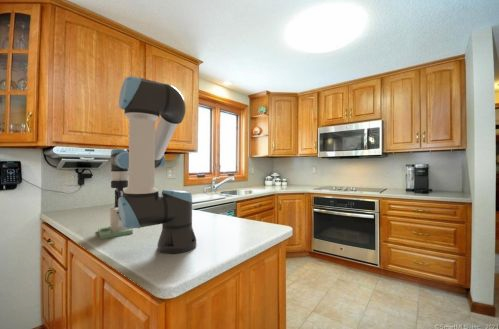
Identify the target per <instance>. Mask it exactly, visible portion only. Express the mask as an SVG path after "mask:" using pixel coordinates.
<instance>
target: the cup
mask: <svg viewBox="0 0 499 329" xmlns="http://www.w3.org/2000/svg"><path fill="white" fill-rule="evenodd" d="M117 212H119V211H118V207H111V208H110V220H109V222H110V225H109V226H110V232H118V231H124V230H130V229H127V228H125V227H124V226H122V227H118V214H117Z"/></svg>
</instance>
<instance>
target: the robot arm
mask: <svg viewBox="0 0 499 329" xmlns="http://www.w3.org/2000/svg"><path fill="white" fill-rule="evenodd" d="M118 107H119V108H120V109H122V110H124V113H123V114H124V116H125V117H126V118H127V119H128V121H129V124H128V125H129V126H128V150H127V149H123V148H115V149H111V150H110V179H111V180H110V188H111V189H115V190H114V207H113V208H115V207H118V211H119V212H117V214H118V227H122V226H124V227H125V228H127V229H129V230H130V229H132V230H134V229H141V228H145V227H152V226H157V225H158V226H159V225H161V227H162V228H161V231H160V232H161V233H160V235H159V239H158V242H157V250H158V252H160V253H163V254H179V253H180V254H181V253H185V252H188V251H191V250H193V249H195V248H196V247H197V238H196V235H195V231H194V228H193V195H192V193H191V192H190V191H187V190H186V191H185V190H178V189H162V191H161V193H159V189H158V188H157V187H156V186H155V169H161V168H163V167H164V166H165V164H166V156H165V152H166V150H167V149H168V146H169V144H170V142H171V139H172V138H173V136H174V133H175V131H176V129H177V127H178V125H180V124H181V123H183V120H184V119H185V115H186V111H187V110H186V108H187V107H186V103H185V99H184V97H183V94H181V92H180V91H179V90H178V89H177V88H176V87H174V85H171V84H169V83H163V82H159V81H155V80H151V79H147V78H143V77H137V76H131V75H130V76H127V77H125V78H124V80H123V82H122V85H121V88H120V91H119V98H118ZM157 121H158V123H157V125H156V122H157ZM125 188H126V189H125Z"/></svg>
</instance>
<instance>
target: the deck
mask: <svg viewBox="0 0 499 329" xmlns="http://www.w3.org/2000/svg"><path fill="white" fill-rule="evenodd" d="M133 230H134V229H129V230H124V231H118V232H110V225H109V226H108V225H107V226H100V227H98V229H97V231H98V234H99V237H100V240H104V239H109V238H110V239H111V238H114V237H120V236H125V235H133Z"/></svg>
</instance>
